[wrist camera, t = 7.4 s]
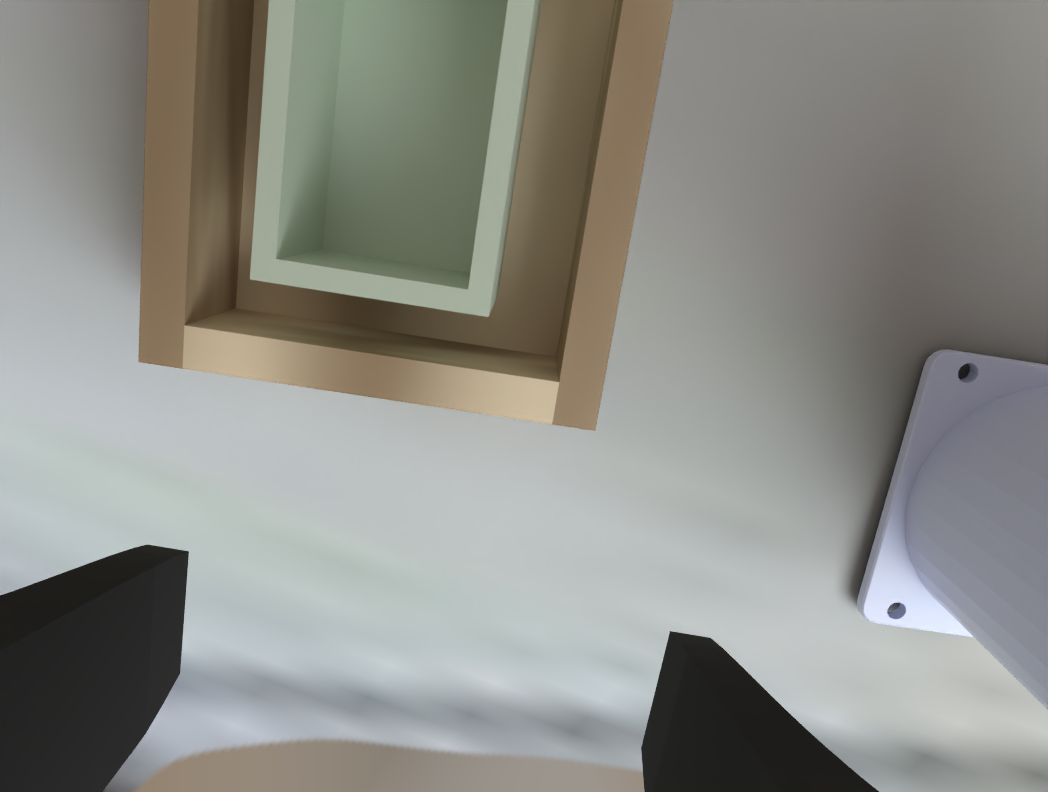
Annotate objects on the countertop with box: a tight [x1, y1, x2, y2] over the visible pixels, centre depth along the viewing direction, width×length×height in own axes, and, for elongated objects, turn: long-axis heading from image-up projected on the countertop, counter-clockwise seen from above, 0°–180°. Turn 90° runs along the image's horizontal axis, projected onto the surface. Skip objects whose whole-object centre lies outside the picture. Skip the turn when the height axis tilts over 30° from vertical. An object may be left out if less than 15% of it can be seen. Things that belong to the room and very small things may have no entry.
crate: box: [139, 0, 674, 431], centre depth 17 cm, size 10×14×4 cm
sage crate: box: [250, 0, 542, 317], centre depth 17 cm, size 5×8×4 cm, turn 171°
